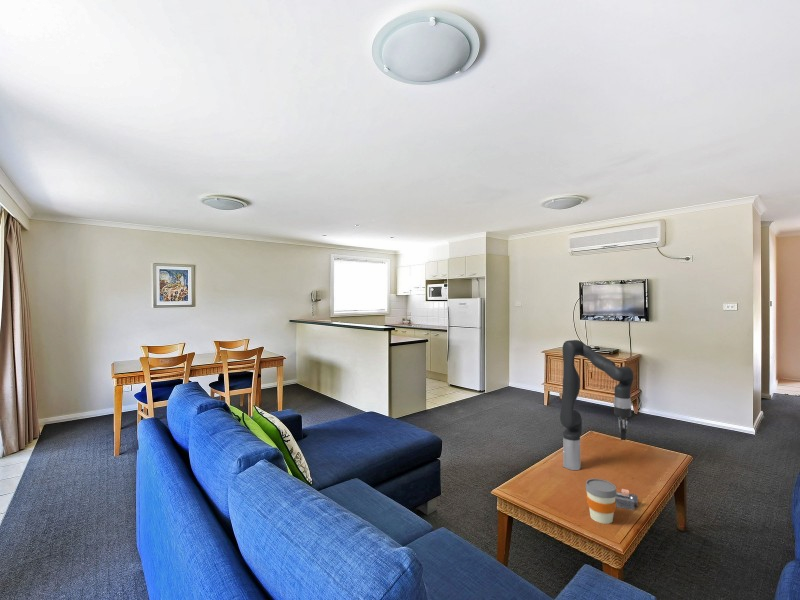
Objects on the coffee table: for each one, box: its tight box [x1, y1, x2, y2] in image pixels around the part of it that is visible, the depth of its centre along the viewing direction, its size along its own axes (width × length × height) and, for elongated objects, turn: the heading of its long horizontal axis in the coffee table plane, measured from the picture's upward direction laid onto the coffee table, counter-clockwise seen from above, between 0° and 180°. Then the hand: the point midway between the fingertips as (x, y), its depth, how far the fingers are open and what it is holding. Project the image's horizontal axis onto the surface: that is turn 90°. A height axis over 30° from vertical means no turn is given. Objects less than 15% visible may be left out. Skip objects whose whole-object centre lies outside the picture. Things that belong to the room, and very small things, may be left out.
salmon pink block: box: [621, 488, 630, 495], centre depth 186 cm, size 3×3×5 cm
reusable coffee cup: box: [585, 478, 618, 525], centre depth 172 cm, size 13×13×15 cm
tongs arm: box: [616, 492, 639, 508], centre depth 185 cm, size 17×4×5 cm, turn 58°
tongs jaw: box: [615, 497, 635, 511], centre depth 182 cm, size 15×3×4 cm, turn 63°
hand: (623, 439), depth 194 cm, fingers closed
